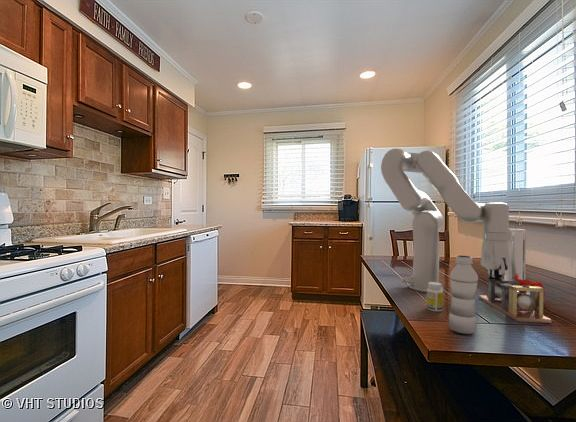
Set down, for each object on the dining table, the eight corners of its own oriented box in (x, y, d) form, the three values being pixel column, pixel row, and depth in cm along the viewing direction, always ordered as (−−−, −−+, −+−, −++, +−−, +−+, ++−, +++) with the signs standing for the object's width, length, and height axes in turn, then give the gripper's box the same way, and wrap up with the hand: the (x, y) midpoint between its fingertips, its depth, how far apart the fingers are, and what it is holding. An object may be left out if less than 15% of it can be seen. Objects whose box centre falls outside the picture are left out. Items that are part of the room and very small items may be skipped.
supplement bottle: (441, 308, 100) (442, 282, 100) (444, 312, 95) (444, 285, 95) (425, 306, 101) (426, 281, 101) (427, 310, 97) (427, 284, 97)
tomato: (506, 297, 112) (507, 277, 112) (531, 298, 112) (531, 277, 112) (525, 305, 103) (526, 283, 103) (552, 306, 103) (553, 284, 102)
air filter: (517, 290, 122) (518, 228, 122) (528, 295, 115) (530, 229, 115) (500, 290, 123) (501, 227, 122) (510, 294, 116) (511, 229, 116)
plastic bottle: (442, 327, 83) (444, 254, 83) (466, 327, 84) (467, 254, 83) (458, 337, 77) (459, 258, 76) (483, 337, 77) (484, 258, 77)
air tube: (518, 310, 92) (518, 295, 92) (490, 295, 107) (490, 282, 107) (535, 311, 91) (535, 295, 91) (504, 296, 107) (505, 282, 107)
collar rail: (517, 321, 89) (518, 288, 88) (478, 297, 111) (479, 272, 111) (551, 323, 87) (552, 290, 87) (505, 299, 110) (505, 273, 110)
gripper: (474, 235, 117) (473, 282, 117) (495, 239, 102) (495, 293, 102) (495, 235, 116) (494, 283, 116) (520, 239, 101) (519, 294, 101)
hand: (494, 288), depth 109 cm, fingers closed
